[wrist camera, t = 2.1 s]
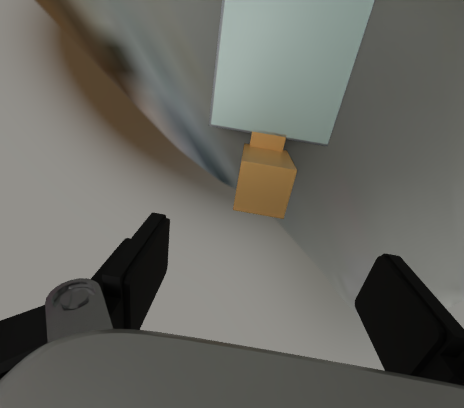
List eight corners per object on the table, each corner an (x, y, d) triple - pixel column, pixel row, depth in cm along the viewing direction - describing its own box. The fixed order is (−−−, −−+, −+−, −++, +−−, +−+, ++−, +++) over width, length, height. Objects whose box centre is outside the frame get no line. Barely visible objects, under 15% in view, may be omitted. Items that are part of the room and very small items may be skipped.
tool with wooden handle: (241, -118, 16) (234, -242, 10) (396, -92, 16) (483, -201, 10) (207, 175, 25) (192, 202, 19) (306, 192, 25) (323, 225, 19)
